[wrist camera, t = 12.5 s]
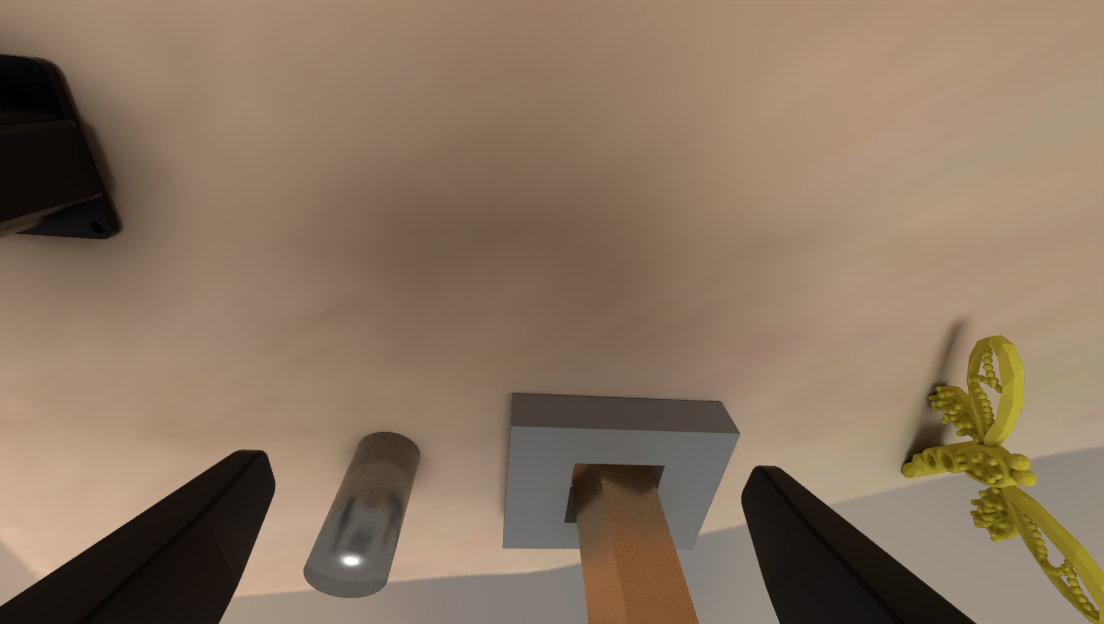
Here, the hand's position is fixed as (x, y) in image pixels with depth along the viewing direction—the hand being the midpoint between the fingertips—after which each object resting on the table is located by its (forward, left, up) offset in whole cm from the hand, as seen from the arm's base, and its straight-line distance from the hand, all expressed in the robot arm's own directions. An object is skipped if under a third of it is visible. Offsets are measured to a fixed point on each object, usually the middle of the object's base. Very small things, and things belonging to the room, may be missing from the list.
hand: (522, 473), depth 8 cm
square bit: (+6, -14, -13) cm, 20 cm away
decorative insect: (+26, -8, -13) cm, 30 cm away
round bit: (-7, -14, -13) cm, 20 cm away
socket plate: (+6, -14, -13) cm, 20 cm away
